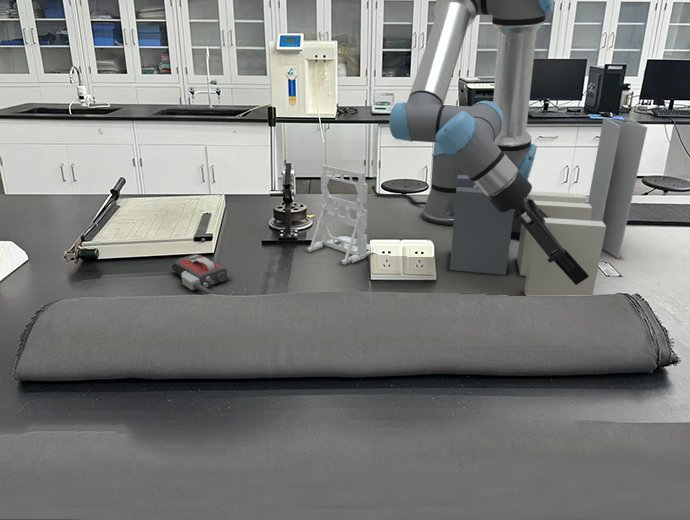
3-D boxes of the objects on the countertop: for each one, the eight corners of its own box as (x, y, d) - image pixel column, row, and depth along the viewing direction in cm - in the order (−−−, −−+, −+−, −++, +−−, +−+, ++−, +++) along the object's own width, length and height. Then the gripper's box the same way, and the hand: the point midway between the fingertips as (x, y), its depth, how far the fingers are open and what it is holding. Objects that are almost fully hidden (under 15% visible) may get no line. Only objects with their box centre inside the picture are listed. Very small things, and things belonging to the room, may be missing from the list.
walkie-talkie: (163, 274, 115) (212, 305, 102) (160, 256, 114) (210, 284, 100) (199, 263, 121) (250, 291, 108) (196, 245, 119) (248, 271, 106)
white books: (579, 280, 113) (592, 205, 106) (520, 275, 115) (530, 202, 109) (571, 263, 121) (584, 194, 114) (516, 259, 123) (526, 190, 117)
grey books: (505, 274, 115) (516, 189, 108) (449, 270, 118) (456, 186, 110) (503, 256, 125) (512, 177, 117) (451, 252, 127) (457, 174, 120)
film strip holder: (386, 249, 129) (389, 168, 121) (347, 266, 120) (347, 179, 112) (343, 235, 138) (343, 159, 130) (304, 249, 129) (301, 168, 121)
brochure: (619, 258, 124) (647, 127, 112) (593, 256, 125) (619, 126, 113) (604, 237, 137) (628, 118, 125) (581, 236, 138) (603, 117, 126)
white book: (590, 305, 102) (606, 226, 96) (525, 298, 105) (537, 221, 98) (587, 298, 105) (602, 221, 99) (524, 292, 107) (535, 216, 101)
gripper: (485, 181, 111) (549, 253, 114) (488, 217, 89) (569, 306, 92) (514, 157, 108) (580, 232, 111) (526, 188, 86) (608, 281, 89)
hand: (575, 265), depth 102 cm, fingers open, 13 cm apart
